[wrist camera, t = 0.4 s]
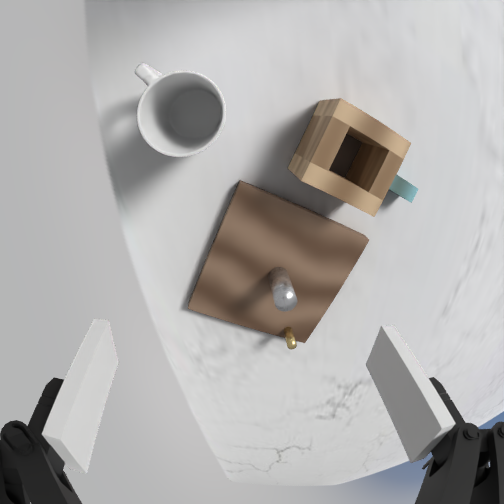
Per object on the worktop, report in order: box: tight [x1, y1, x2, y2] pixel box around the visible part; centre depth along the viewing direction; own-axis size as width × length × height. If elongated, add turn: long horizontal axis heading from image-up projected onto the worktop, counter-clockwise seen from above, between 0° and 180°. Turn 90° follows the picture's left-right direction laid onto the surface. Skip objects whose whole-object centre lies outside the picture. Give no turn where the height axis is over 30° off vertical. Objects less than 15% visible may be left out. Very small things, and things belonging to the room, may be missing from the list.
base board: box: [188, 181, 369, 343], centre depth 40 cm, size 18×18×2 cm
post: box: [268, 267, 297, 312], centre depth 36 cm, size 2×2×6 cm
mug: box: [135, 63, 226, 157], centre depth 25 cm, size 10×7×12 cm, turn 40°
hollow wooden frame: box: [288, 98, 418, 217], centre depth 32 cm, size 16×9×7 cm, turn 66°
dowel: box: [284, 327, 297, 349], centre depth 41 cm, size 1×1×4 cm
